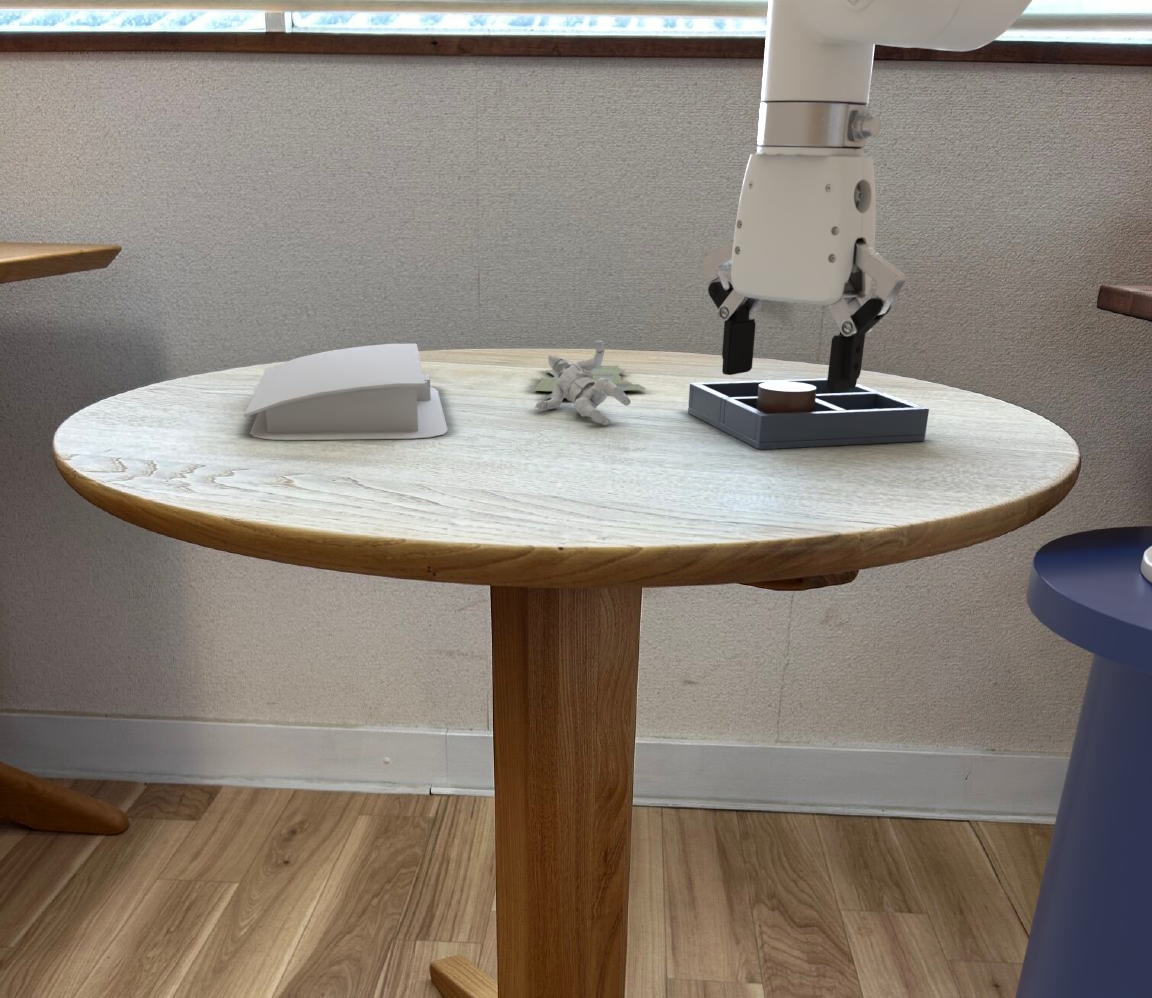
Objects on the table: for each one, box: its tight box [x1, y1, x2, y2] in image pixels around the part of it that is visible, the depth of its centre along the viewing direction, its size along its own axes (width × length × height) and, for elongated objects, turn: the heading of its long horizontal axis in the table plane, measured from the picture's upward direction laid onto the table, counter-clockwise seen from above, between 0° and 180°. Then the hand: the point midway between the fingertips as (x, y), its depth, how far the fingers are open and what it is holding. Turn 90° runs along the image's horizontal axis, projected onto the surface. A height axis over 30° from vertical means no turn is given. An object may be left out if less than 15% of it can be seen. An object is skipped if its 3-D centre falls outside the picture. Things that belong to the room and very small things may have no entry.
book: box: [243, 343, 449, 441], centre depth 102 cm, size 15×23×4 cm, turn 8°
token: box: [756, 381, 816, 414], centre depth 96 cm, size 4×4×3 cm
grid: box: [687, 377, 930, 450], centre depth 100 cm, size 14×14×2 cm
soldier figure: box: [534, 339, 632, 426], centre depth 103 cm, size 8×5×12 cm
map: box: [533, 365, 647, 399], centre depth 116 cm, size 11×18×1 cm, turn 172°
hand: (787, 380), depth 95 cm, fingers open, 9 cm apart
